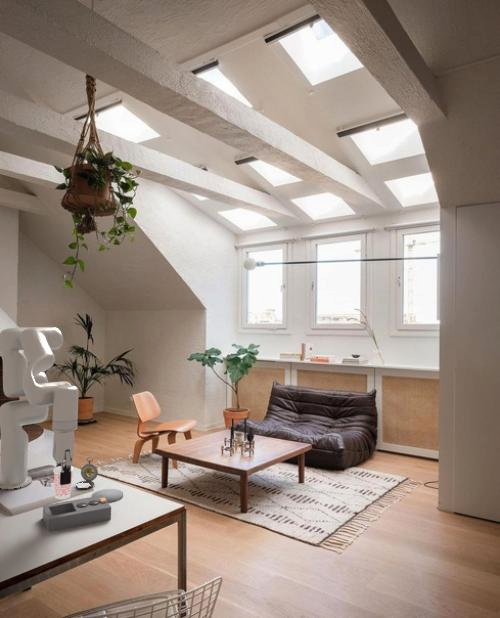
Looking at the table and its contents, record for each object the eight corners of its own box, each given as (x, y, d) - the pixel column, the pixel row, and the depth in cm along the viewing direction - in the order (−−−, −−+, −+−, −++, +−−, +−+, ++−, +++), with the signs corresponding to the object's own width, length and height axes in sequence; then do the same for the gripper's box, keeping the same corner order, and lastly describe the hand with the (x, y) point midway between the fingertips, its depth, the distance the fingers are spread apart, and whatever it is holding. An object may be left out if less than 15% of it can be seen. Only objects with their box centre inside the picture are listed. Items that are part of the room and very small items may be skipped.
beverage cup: (48, 498, 152) (49, 454, 152) (61, 491, 158) (63, 449, 158) (63, 501, 150) (65, 457, 150) (77, 494, 156) (78, 451, 155)
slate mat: (88, 493, 176) (88, 492, 176) (118, 488, 182) (118, 487, 182) (95, 505, 167) (95, 503, 167) (127, 499, 173) (127, 497, 173)
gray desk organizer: (42, 517, 156) (43, 503, 156) (101, 506, 166) (102, 492, 166) (48, 532, 146) (49, 516, 146) (110, 519, 157) (111, 504, 156)
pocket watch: (77, 491, 178) (77, 464, 178) (74, 483, 186) (74, 457, 186) (99, 487, 182) (100, 461, 182) (95, 480, 190) (96, 455, 190)
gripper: (47, 419, 159) (46, 473, 159) (57, 432, 144) (55, 492, 144) (71, 417, 163) (69, 470, 163) (83, 430, 148) (81, 487, 148)
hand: (63, 479), depth 154 cm, fingers closed on beverage cup, 6 cm apart
